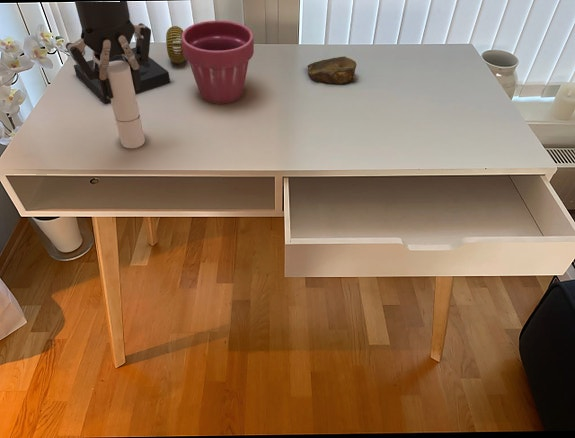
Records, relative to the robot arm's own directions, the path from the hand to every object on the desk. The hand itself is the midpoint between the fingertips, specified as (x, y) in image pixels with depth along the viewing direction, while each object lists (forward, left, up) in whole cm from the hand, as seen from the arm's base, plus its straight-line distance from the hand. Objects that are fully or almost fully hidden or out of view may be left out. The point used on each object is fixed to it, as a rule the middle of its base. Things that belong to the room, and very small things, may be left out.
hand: (121, 92), depth 88 cm
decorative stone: (+47, -3, -10) cm, 48 cm away
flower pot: (+23, +5, -10) cm, 26 cm away
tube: (0, 0, -10) cm, 10 cm away
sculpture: (+23, +23, -10) cm, 34 cm away
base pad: (+9, +23, -10) cm, 27 cm away
